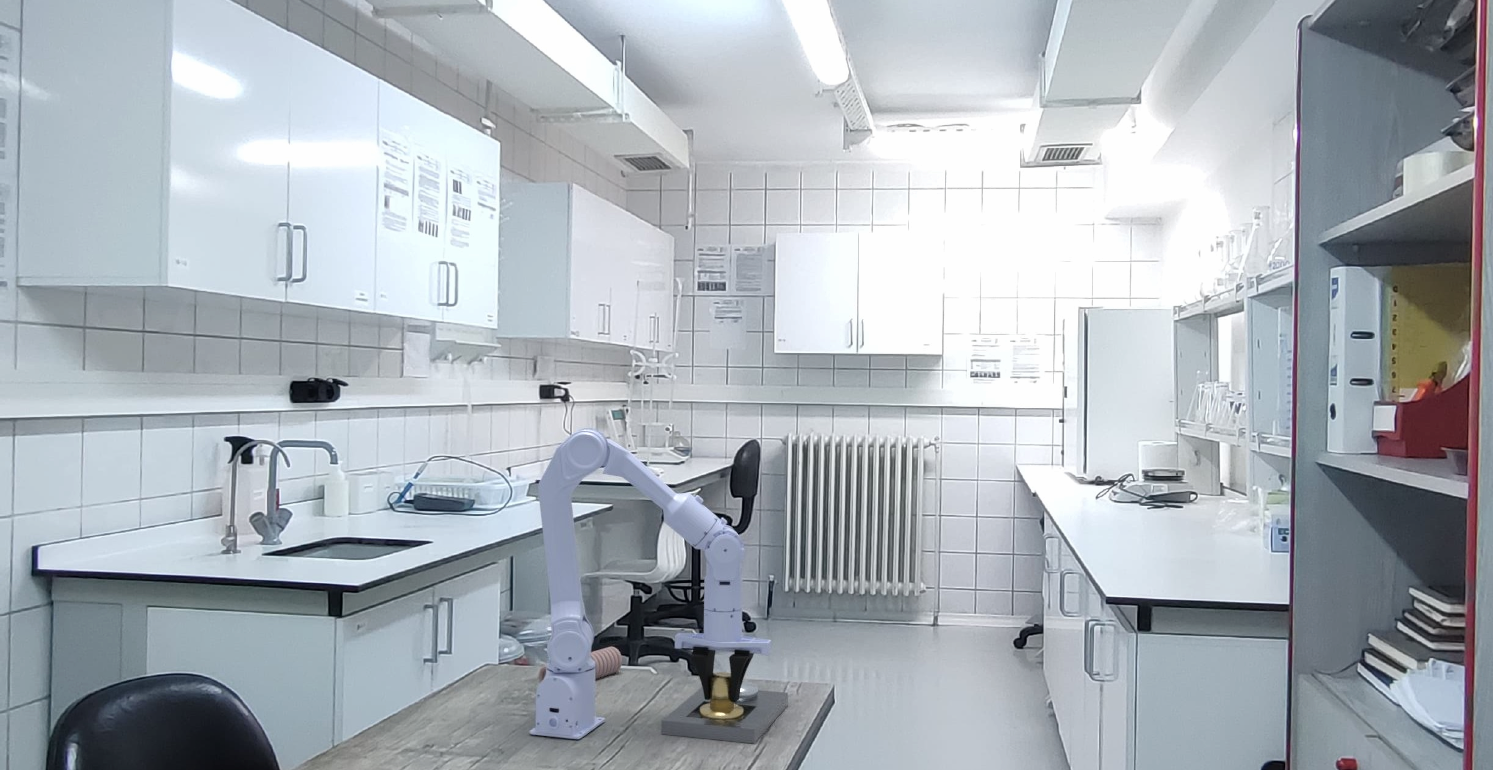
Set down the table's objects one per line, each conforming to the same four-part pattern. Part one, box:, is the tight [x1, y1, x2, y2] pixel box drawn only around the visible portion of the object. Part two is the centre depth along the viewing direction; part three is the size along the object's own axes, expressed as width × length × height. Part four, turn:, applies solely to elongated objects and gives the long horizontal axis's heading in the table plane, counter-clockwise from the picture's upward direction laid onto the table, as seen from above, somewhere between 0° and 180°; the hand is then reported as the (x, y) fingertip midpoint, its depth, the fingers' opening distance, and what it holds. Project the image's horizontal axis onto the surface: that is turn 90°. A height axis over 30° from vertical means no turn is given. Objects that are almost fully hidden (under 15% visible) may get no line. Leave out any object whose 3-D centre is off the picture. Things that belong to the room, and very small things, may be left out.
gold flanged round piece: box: [700, 671, 744, 722], centre depth 165 cm, size 6×6×6 cm
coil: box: [538, 646, 623, 684], centre depth 188 cm, size 5×5×18 cm
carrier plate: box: [661, 680, 789, 744], centre depth 167 cm, size 20×14×4 cm
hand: (722, 699), depth 165 cm, fingers closed on gold flanged round piece, 3 cm apart
